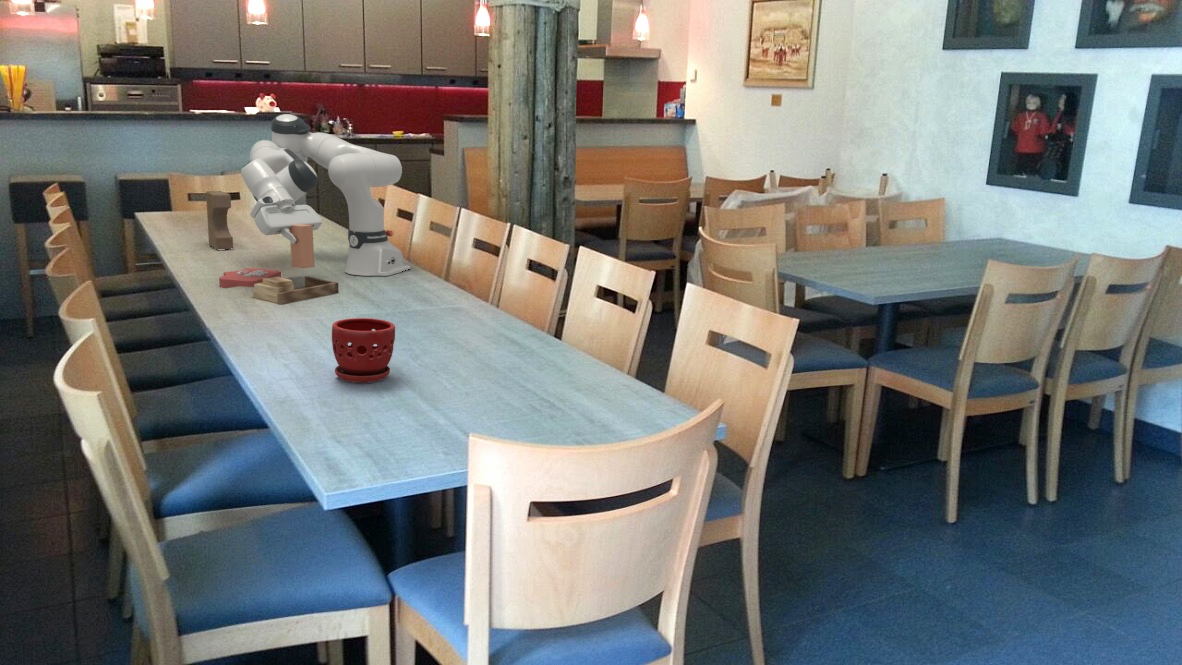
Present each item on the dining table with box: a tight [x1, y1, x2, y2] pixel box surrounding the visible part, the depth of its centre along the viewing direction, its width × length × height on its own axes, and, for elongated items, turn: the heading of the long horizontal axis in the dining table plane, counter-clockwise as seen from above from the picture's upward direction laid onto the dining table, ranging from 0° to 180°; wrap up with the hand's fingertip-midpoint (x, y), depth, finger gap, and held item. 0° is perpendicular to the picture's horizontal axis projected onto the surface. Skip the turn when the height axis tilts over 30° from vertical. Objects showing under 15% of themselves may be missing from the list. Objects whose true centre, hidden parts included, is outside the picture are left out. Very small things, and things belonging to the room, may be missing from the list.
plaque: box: [218, 267, 282, 289], centre depth 286 cm, size 18×4×15 cm
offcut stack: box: [252, 276, 295, 304], centre depth 263 cm, size 7×11×6 cm, turn 57°
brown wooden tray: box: [249, 276, 340, 305], centre depth 269 cm, size 21×13×4 cm, turn 147°
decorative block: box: [205, 190, 234, 250], centre depth 338 cm, size 11×6×20 cm, turn 36°
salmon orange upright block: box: [289, 224, 315, 269], centre depth 269 cm, size 4×5×12 cm
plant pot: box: [331, 317, 396, 384], centre depth 201 cm, size 13×13×12 cm
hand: (303, 241), depth 268 cm, fingers closed on salmon orange upright block, 4 cm apart
